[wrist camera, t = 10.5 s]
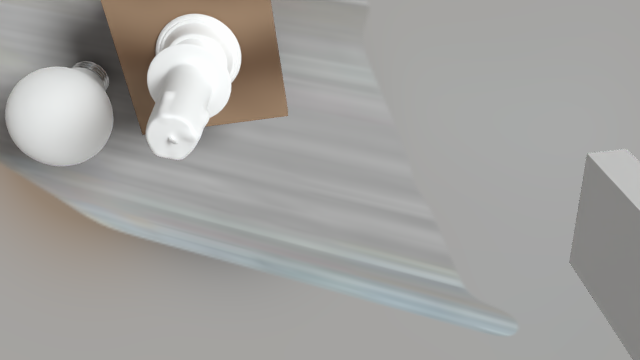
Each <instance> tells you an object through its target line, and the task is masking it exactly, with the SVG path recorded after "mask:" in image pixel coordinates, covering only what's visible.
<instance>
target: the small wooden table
mask: <svg viewBox="0 0 640 360" xmlns="http://www.w3.org/2000/svg"><path fill="white" fill-rule="evenodd" d="M101 3H102V6H103V9H104V12H105V16H106V19H107V22H108V25H109V28H110V32H111V35H112V38H113V41H114V45H115V48H116V51H117V54H118V57H119V61H120V64H121V67H122V70H123V74H124V77H125V80H126V83H127V86H128V90H129V93H130V96H131V99H132V102H133V106H134V109H135V112H136V115H137V119H138V122H139V125H140V128H141V131H142V135H144V134H146V126H147V123H148V120H149V117H150V115H151V112H152V110H153V108H154V105H155V102H154V100H153V98H152V97H151V95H150V92H149V89H148V85H147V73H148V69H149V66H150V64H151V62H152V60H153V59H154V57H155V56H156V43H157V39H158V37H159V34H160V33H161V31H162V29H163V28H164V27H165V26H166V25H167V24H168V23H169V22H170V21H172V20H173V19H175V18H177V17H180V16H183V15H187V14H203V15H207V16H210V17H213V18H215V19H217V20H219V21H221V22H222V23H223V24H225V25H226V26H227V27H228V28H229V29H230V30H231V31H232V33H233V34H234V35H235V37H236V39H237V41H238V43H239V46H240V50H241V66H240V70H239V72H238V74H237V76H236V78H235V79H234V81H233V82H232V83H231V94H230V97H229V100H228V102H227V104H226V105H225V107H224V108H223V109H222V110H221V111H220V112H219V113H218V114H216V115H215V116H213V117H211V118H209V121H208V123H207V124H206V126H214V125H221V124H229V123H237V122H245V121H252V120H260V119H268V118H275V117H283V116H288V107H287V101H286V95H285V88H284V82H283V76H282V69H281V63H280V57H279V50H278V44H277V38H276V31H275V25H274V19H273V12H272V6H271V0H101ZM206 126H205V127H206Z"/></svg>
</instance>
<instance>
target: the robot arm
mask: <svg viewBox="0 0 640 360" xmlns="http://www.w3.org/2000/svg"><path fill="white" fill-rule="evenodd" d="M569 263H570V264H571V266H572V267H573V269H574V270H575V272H576V273H577V275H578V276H579V278H580V279H581V281H582V282H583V284H584V286H585V287H586V289H587V290H588V292H589V293H590V295H591V296H592V298H593V299H594V301H595V302H596V304H597V305H598V307H599V308H600V310H601V312H602V313H603V314H604V316H605V317H606V319H607V321H608V322H609V324H610V325H611V327H612V328H613V330H614V332H615V333H616V335H617V336H618V338H619V339H620V341H621V342H622V344H623V345H624V347H625V348H626V350H627V351H628V353H629V354H630V356H631V358H632V359H633V360H640V162H639V161H638V160H637V159H636V158H635V157H634V156H633V155H632V154H631V153H630V152H629V151H628V150H627V149H621V150H612V151H603V152H594V153H587V157H586V163H585V169H584V176H583V182H582V187H581V194H580V200H579V206H578V212H577V218H576V224H575V230H574V237H573V243H572V249H571V255H570V261H569Z"/></svg>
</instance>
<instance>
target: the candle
mask: <svg viewBox="0 0 640 360" xmlns="http://www.w3.org/2000/svg"><path fill="white" fill-rule="evenodd" d="M240 66H241V50H240V46H239V43H238V41H237V39H236V37H235V35H234V34H233V33H232V31H231V30H230V29H229V28H228V27H227V26H226V25H225V24H223V23H222V22H221V21H219V20H217V19H215V18H213V17H210V16H207V15H203V14H187V15H183V16H180V17H177V18H175V19H173V20H172V21H170V22H169V23H168V24H167V25H166V26H165V27H164V28H163V29H162V31H161V33H160V34H159V37H158V39H157V43H156V56H155V57H154V59H153V60H152V62H151V64H150V66H149V69H148V73H147V85H148V89H149V92H150V95H151V97H152V98H153V100H154V102H155V105H154V108H153V110H152V112H151V115H150V117H149V120H148V123H147V126H146V140H147V143H148V145H149V146H150V148H151V150H152V152H153V153H154V154H155V155H156V156H158V157H163V158H169V159H173V160H182V159H184V158H185V157H186V156H187V155H188V154H190V153H191V152H192V151H193V149H194V148H195V146H196V145H197V143H198V141H199V140H200V138H201V135H202V132H203V129H204V127H205V126H206V124H207V123H208V121H209V118H211V117H213V116H215V115H216V114H218V113H219V112H220V111H221V110H222V109H223V108H224V107H225V105H226V104H227V102H228V100H229V97H230V94H231V83H232V82H233V81H234V79H235V78H236V76H237V74H238V72H239V70H240Z"/></svg>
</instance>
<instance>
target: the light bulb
mask: <svg viewBox="0 0 640 360" xmlns="http://www.w3.org/2000/svg"><path fill="white" fill-rule="evenodd" d="M108 87H109V77H108V75H107V72H106V71H105V70H104V69H103V68H102V67H101V66H100V65H98V64H96V63H94V62H91V61H82V62H78V63H76V64H75V65H73V66H72V67H71V68H67V67H48V68H42V69H39V70H36V71H33V72H32V73H30V74H29V75H27V76H25V77H24V78H22V79H21V80H20V81H19V82H18V83H17V84H16V85H15V87H14V88H13V90H12V91H11V93H10V95H9V97H8V100H7V104H6V109H5V121H6V125H7V129H8V132H9V134H10V136H11V138H12V140H13V141H14V143H15V144H16V146H17V147H18V148H19V149H20V150H21V151H22V152H23V153H25V154H26V155H27V156H29V157H30V158H32V159H34V160H36V161H38V162H41V163H44V164H47V165H52V166H70V165H76V164H79V163H82V162H85V161H86V160H88V159H90V158H92V157H93V156H95V155H96V154H97V153H98V152H99V151H100V150H101V149H102V148H103V147H104V146H105V144H106V143H107V141H108V140H109V137H110V134H111V131H112V128H113V121H114V118H113V110H112V105H111V102H110V99H109V97H108V96H107V94H106V91H107V89H108Z"/></svg>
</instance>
